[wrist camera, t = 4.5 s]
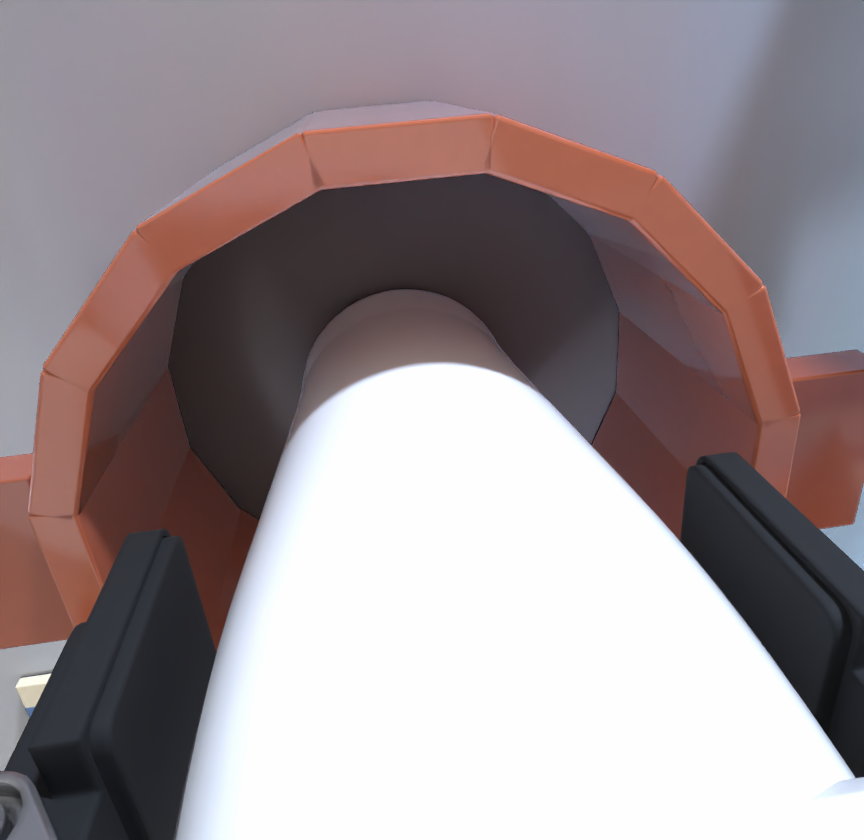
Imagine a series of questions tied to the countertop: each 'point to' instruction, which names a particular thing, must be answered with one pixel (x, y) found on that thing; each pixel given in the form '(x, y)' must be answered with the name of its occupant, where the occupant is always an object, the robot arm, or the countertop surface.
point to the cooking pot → (380, 164)
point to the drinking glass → (480, 627)
